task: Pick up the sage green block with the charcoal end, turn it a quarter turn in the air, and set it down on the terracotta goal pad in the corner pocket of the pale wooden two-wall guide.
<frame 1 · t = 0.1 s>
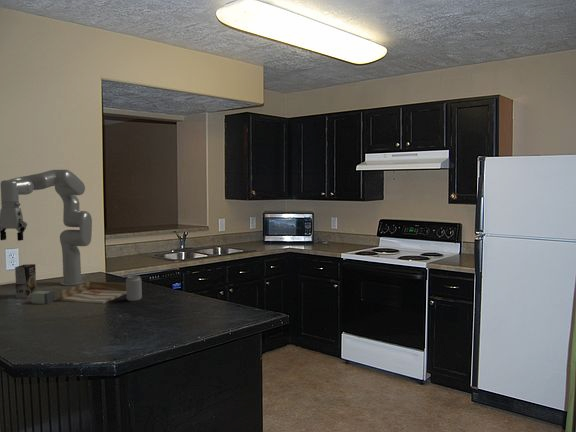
hand: (11, 240, 250), 31 cm above the countertop, tool pointing down, fingers open, 9 cm apart
can: (134, 300, 257), on the countertop
corner guide: (96, 296, 264), on the countertop
block: (43, 302, 253), on the countertop
coffee box: (26, 296, 266), on the countertop
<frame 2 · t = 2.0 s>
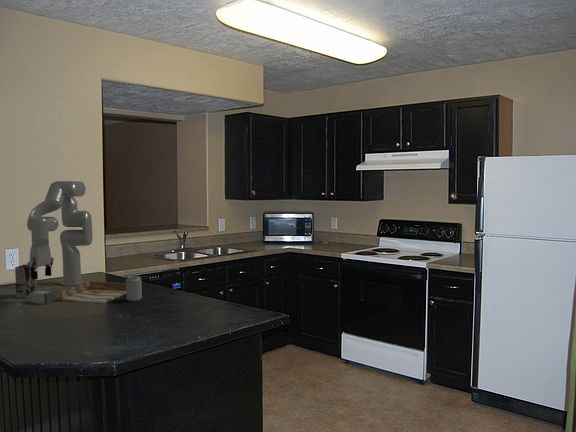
hand: (41, 277, 251), 13 cm above the countertop, tool pointing down, fingers open, 9 cm apart
nothing on the countertop moved.
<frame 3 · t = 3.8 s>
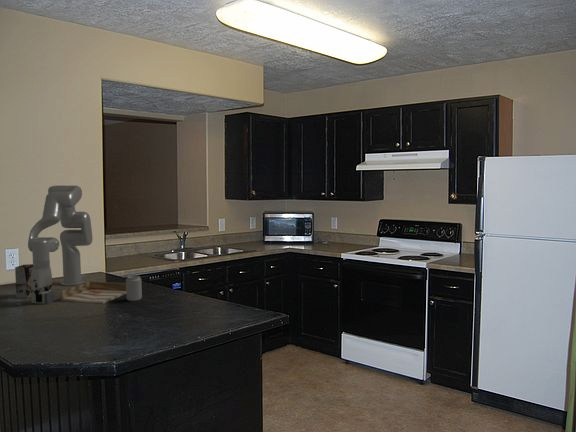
hand: (43, 300, 252), 1 cm above the countertop, tool pointing down, fingers closed on block, 5 cm apart
block: (43, 302, 253), on the countertop, touching gripper
everything else where it was.
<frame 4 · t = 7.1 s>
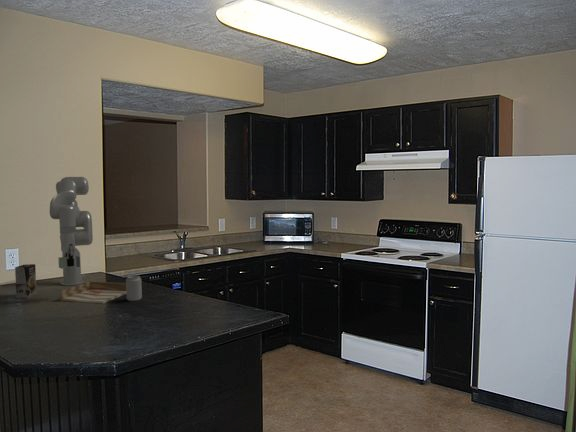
hand: (69, 265, 260), 17 cm above the countertop, tool pointing down, fingers closed on block, 5 cm apart
block: (69, 266, 260), point 16 cm above the countertop, touching gripper
everything else where it was.
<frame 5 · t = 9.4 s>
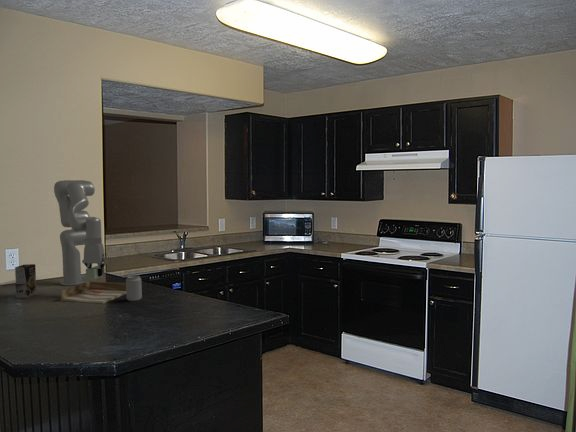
hand: (95, 275, 268), 10 cm above the countertop, tool pointing down, fingers closed on block, 5 cm apart
block: (95, 277, 269), point 9 cm above the countertop, touching gripper
everything else where it was.
when the fingers open (4 cm above the countertop, at t = 10.9 s): block drops 2 cm, resting on corner guide.
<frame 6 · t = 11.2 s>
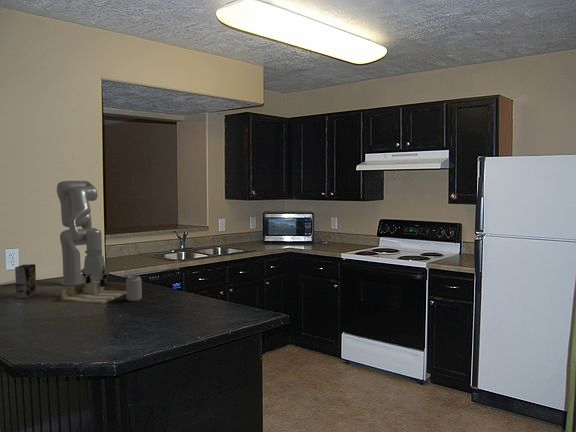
hand: (95, 285, 269), 4 cm above the countertop, tool pointing down, fingers open, 7 cm apart
block: (95, 291, 269), point 1 cm above the countertop, touching corner guide
everything else where it was.
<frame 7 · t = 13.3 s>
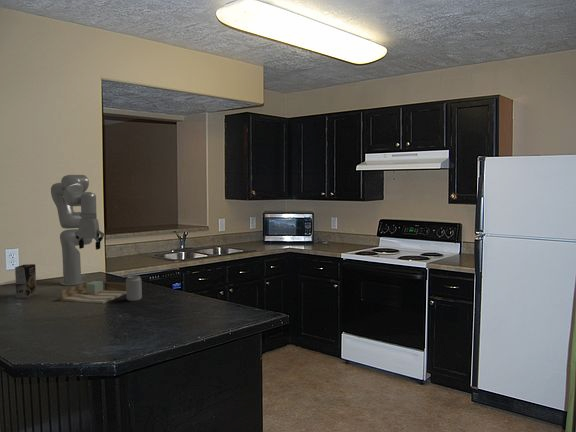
hand: (89, 248, 269), 24 cm above the countertop, tool pointing down, fingers open, 9 cm apart
nothing on the countertop moved.
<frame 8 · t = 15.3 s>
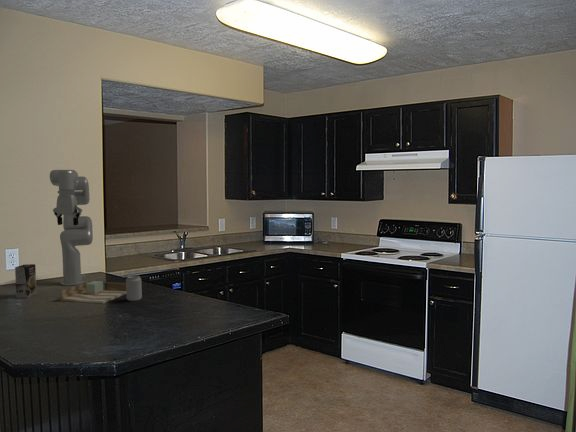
hand: (68, 224, 273), 36 cm above the countertop, tool pointing down, fingers open, 9 cm apart
nothing on the countertop moved.
at the end: block inside the target area on the corner guide (0.0 cm from its centre), point 1.3 cm above the corner guide's base; block tilted 0°; the gripper is holding nothing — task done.
